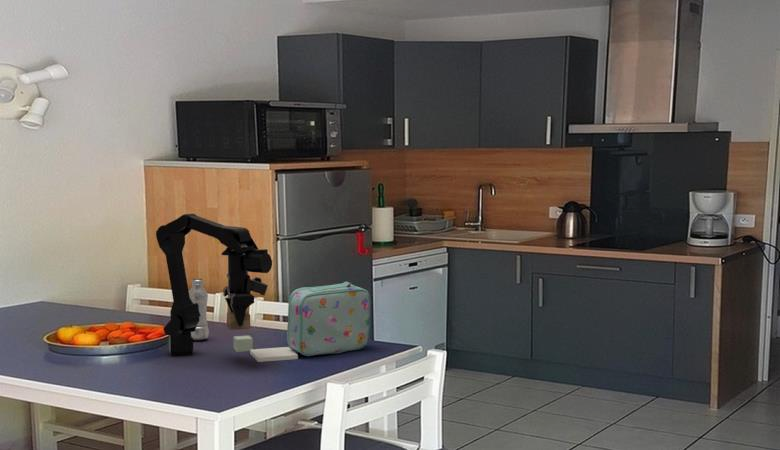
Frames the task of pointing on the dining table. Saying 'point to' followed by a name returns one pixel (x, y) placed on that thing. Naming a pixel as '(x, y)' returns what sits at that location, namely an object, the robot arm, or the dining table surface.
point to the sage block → (242, 343)
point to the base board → (273, 354)
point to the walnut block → (233, 323)
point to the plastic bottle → (200, 297)
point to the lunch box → (328, 319)
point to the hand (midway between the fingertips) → (238, 323)
